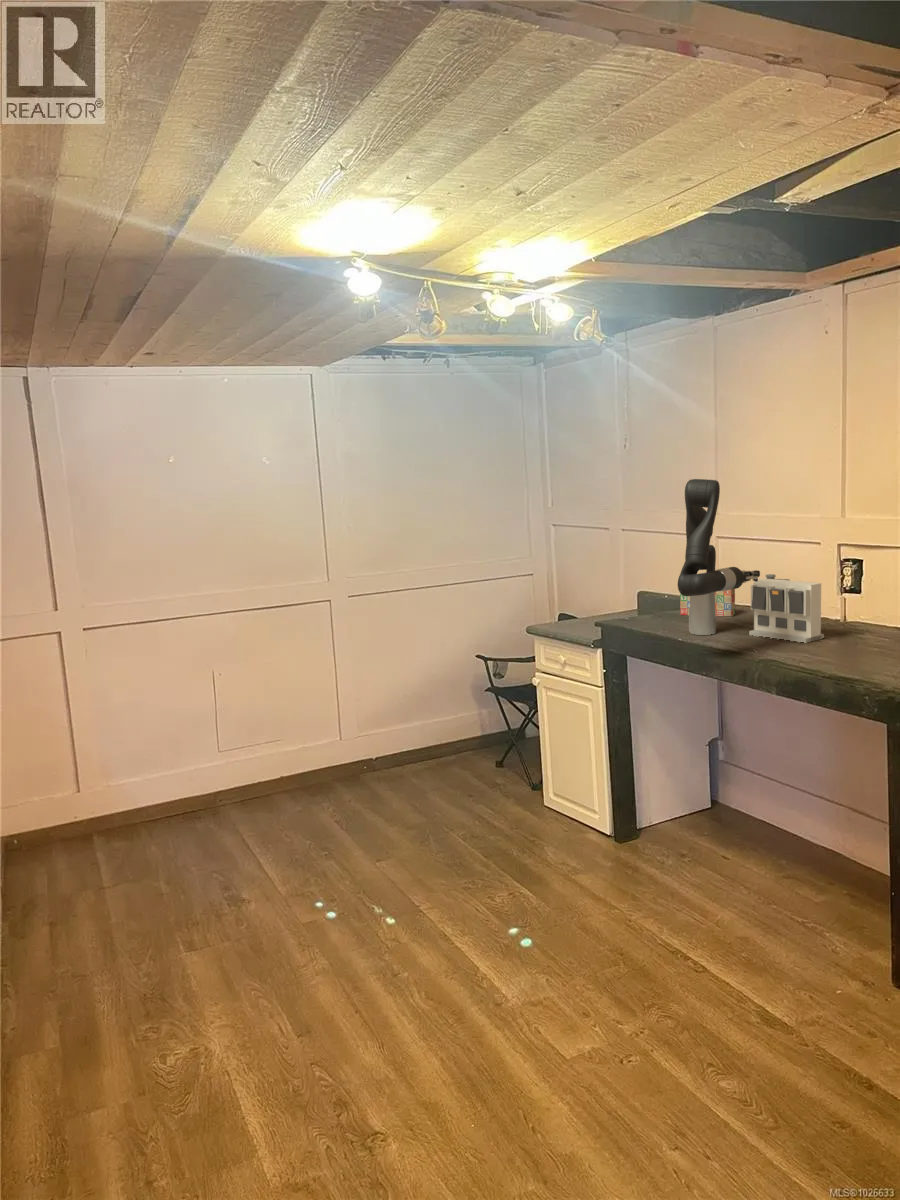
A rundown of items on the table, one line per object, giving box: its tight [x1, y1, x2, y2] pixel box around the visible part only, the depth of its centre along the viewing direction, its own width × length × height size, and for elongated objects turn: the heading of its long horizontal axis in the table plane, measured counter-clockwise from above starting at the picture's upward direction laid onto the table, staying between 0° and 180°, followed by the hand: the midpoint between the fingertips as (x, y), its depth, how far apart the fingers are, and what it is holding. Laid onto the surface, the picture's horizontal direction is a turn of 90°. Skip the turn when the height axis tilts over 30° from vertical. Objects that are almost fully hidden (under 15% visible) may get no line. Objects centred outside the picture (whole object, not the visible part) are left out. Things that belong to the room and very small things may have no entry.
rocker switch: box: [750, 587, 766, 610], centre depth 325 cm, size 2×5×8 cm, turn 36°
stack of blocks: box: [679, 589, 736, 617], centre depth 375 cm, size 21×6×12 cm, turn 59°
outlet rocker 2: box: [788, 590, 804, 614], centre depth 313 cm, size 2×5×8 cm, turn 35°
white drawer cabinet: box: [748, 577, 825, 644], centre depth 323 cm, size 11×23×20 cm, turn 36°
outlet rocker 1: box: [769, 588, 785, 612], centre depth 319 cm, size 2×5×8 cm, turn 35°
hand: (757, 573), depth 311 cm, fingers closed
